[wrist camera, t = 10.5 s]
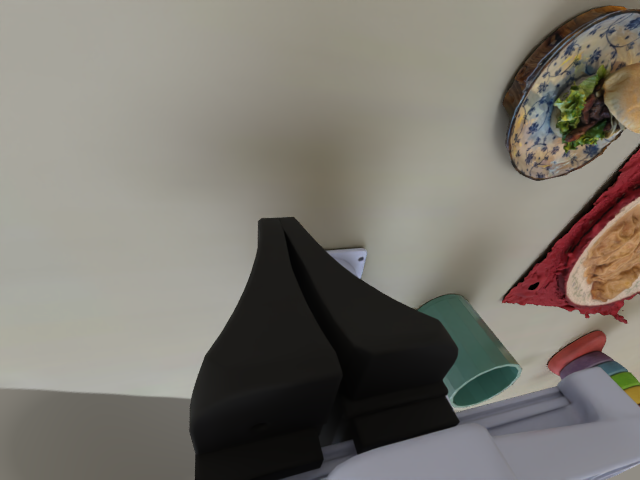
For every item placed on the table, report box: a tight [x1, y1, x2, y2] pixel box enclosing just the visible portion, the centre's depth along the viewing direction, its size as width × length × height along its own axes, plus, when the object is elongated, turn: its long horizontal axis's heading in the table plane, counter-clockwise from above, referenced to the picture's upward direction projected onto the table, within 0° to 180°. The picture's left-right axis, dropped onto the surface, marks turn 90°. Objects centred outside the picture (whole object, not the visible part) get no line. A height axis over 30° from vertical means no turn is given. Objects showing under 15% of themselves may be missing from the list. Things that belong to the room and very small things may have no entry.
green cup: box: [417, 294, 522, 408], centre depth 35 cm, size 8×8×9 cm
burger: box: [503, 6, 640, 181], centre depth 22 cm, size 12×12×8 cm
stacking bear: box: [548, 331, 640, 407], centre depth 52 cm, size 11×10×18 cm
